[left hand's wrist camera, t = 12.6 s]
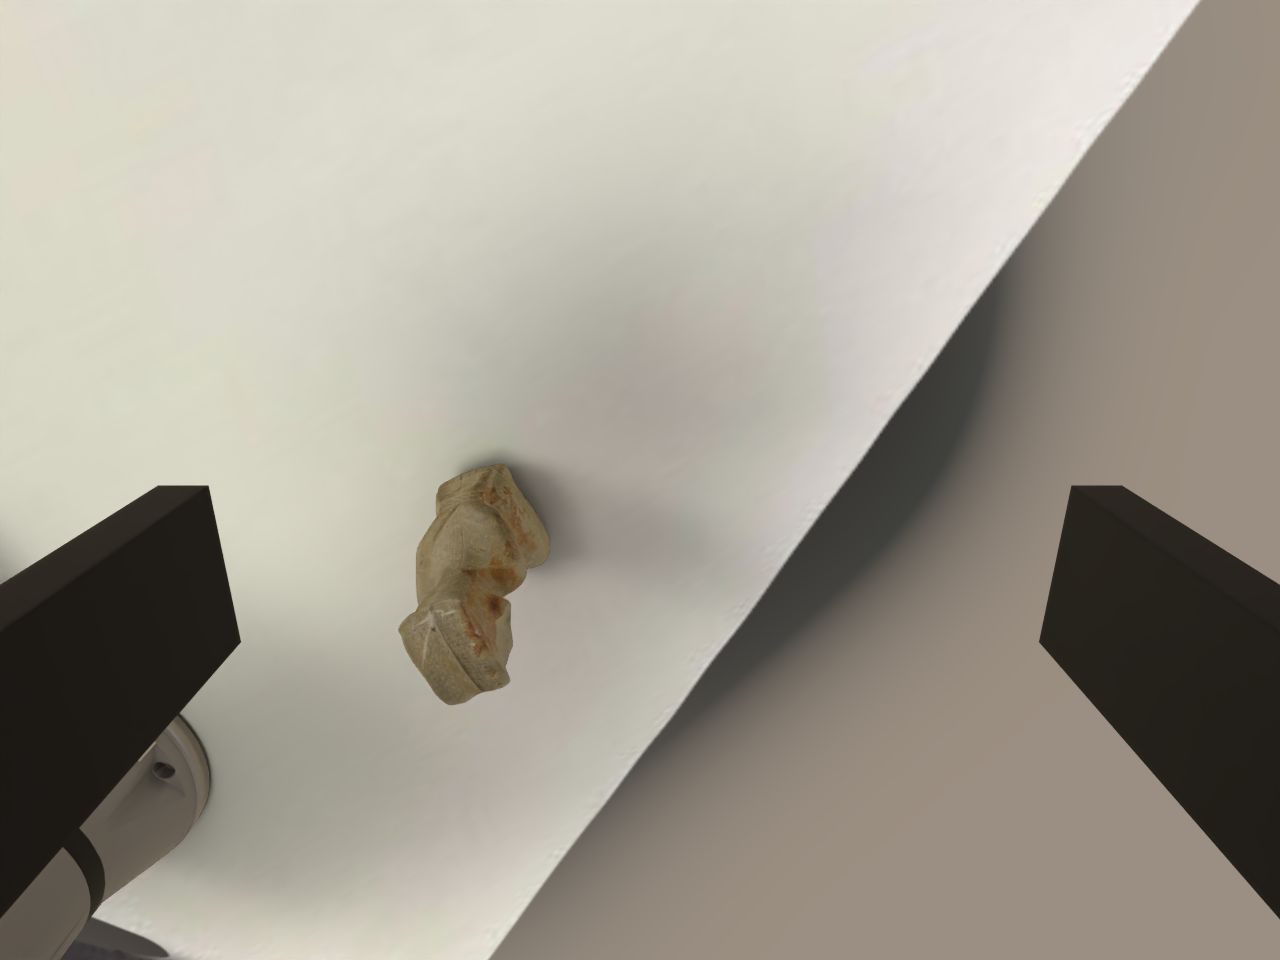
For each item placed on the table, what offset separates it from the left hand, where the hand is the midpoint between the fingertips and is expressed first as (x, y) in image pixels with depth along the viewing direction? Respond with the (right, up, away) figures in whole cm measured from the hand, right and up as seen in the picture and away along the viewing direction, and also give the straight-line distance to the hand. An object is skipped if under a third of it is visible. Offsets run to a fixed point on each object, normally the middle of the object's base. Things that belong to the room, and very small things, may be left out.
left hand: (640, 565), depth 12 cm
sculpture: (-8, 0, +35) cm, 36 cm away
